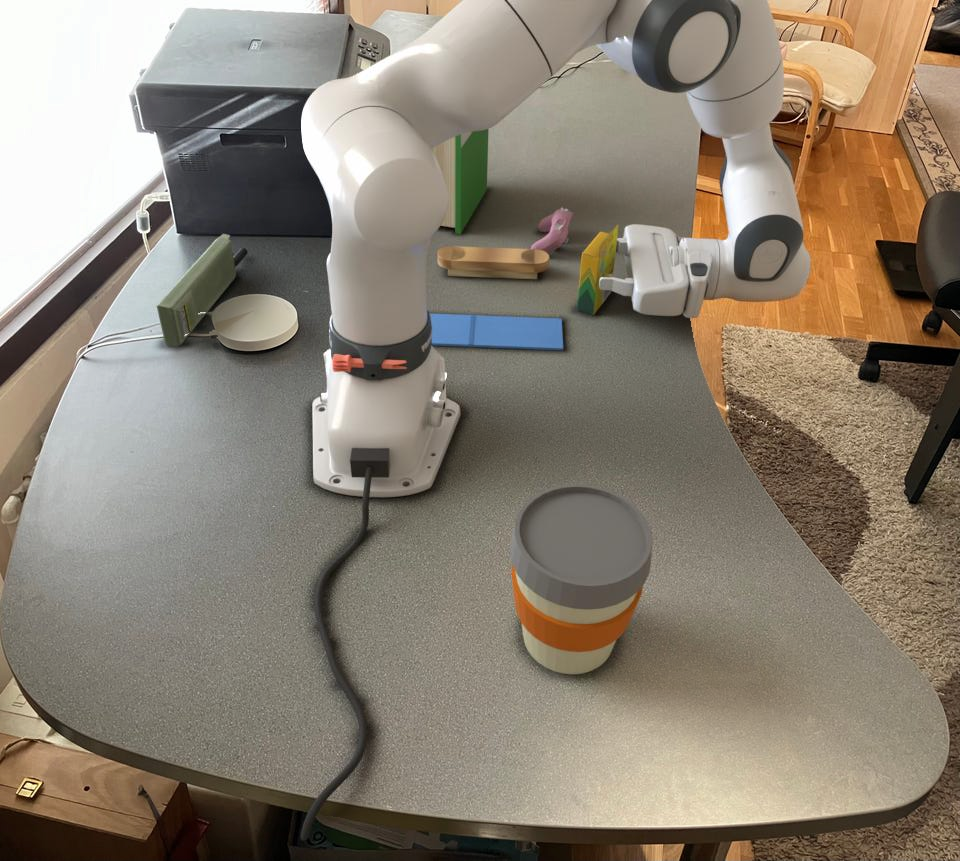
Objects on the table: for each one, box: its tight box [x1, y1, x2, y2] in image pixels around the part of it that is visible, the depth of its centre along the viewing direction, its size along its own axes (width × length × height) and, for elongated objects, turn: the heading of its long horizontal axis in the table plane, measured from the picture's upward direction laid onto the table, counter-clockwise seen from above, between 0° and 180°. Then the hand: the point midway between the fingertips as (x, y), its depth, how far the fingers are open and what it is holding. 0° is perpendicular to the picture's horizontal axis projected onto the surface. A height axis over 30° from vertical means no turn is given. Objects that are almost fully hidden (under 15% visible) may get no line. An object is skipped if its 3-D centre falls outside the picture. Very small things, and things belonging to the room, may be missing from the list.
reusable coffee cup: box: [509, 483, 653, 675], centre depth 81 cm, size 12×13×15 cm
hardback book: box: [431, 128, 490, 235], centre depth 146 cm, size 18×7×24 cm, turn 165°
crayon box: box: [576, 224, 619, 316], centre depth 128 cm, size 7×3×12 cm, turn 152°
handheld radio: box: [156, 233, 249, 348], centre depth 128 cm, size 7×3×25 cm
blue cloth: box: [429, 312, 564, 351], centre depth 125 cm, size 8×20×1 cm, turn 88°
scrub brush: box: [436, 245, 550, 280], centre depth 137 cm, size 18×4×3 cm, turn 88°
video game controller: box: [530, 206, 574, 255], centre depth 143 cm, size 10×5×7 cm, turn 168°
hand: (597, 264), depth 127 cm, fingers open, 8 cm apart
